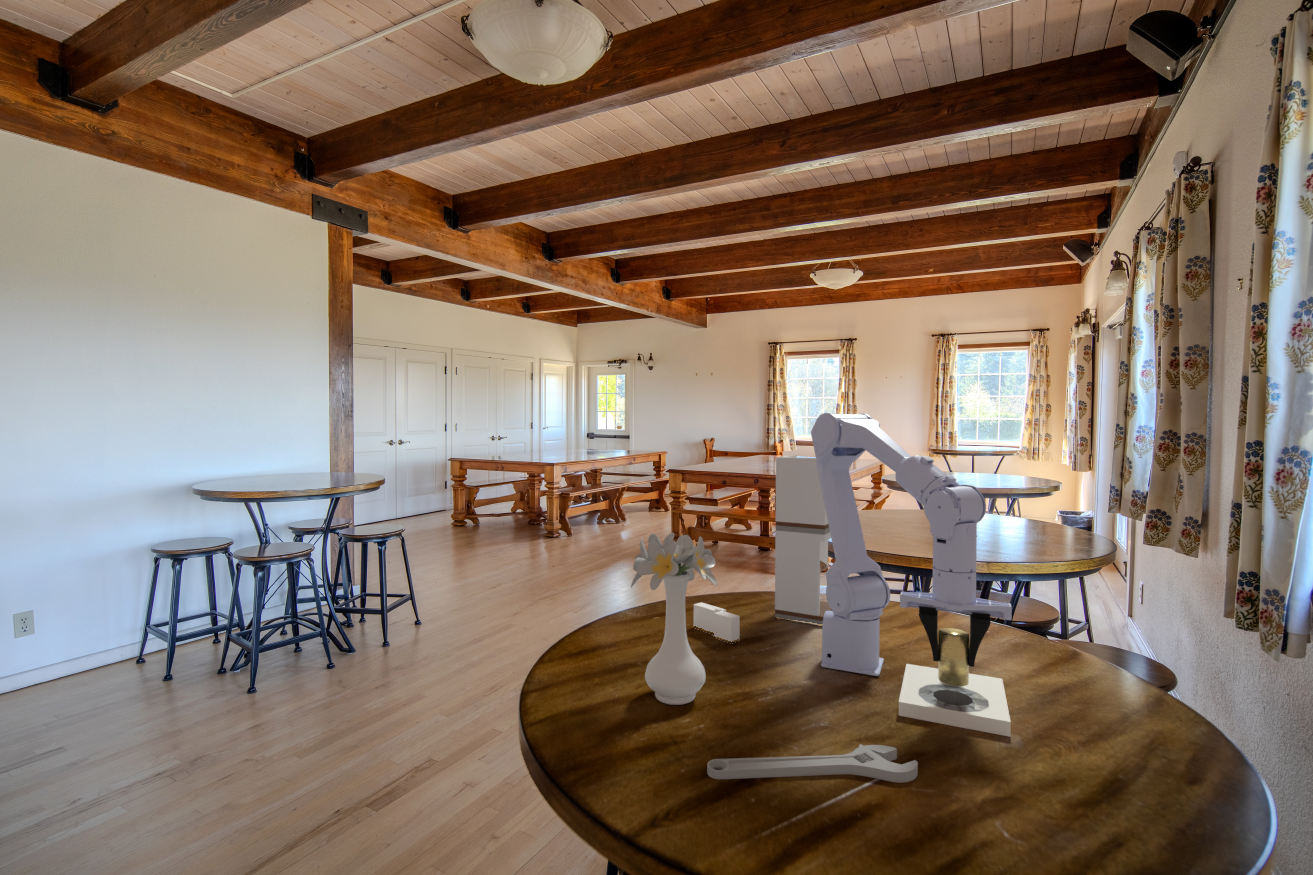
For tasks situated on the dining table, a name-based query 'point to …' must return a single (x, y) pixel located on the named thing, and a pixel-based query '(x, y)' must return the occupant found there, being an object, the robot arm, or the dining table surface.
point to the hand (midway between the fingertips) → (953, 661)
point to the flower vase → (674, 614)
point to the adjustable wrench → (819, 765)
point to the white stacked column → (800, 540)
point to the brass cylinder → (953, 657)
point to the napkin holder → (717, 621)
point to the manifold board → (955, 701)
